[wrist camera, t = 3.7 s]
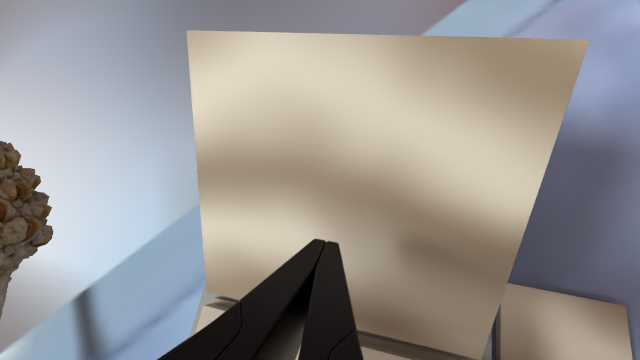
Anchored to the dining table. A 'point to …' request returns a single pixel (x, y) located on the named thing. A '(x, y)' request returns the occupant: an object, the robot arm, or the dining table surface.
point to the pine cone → (19, 215)
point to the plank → (559, 327)
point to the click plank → (378, 166)
